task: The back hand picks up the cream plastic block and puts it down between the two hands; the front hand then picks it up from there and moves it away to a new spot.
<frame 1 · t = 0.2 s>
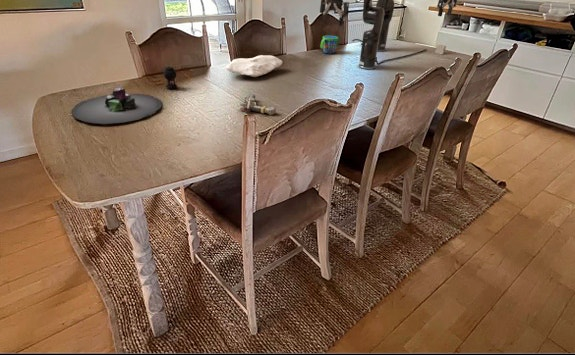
front hand: (332, 24, 172), 29 cm above the table, tool pointing down, fingers open, 8 cm apart
back hand: (444, 15, 211), 29 cm above the table, tool pointing down, fingers open, 8 cm apart
snack cup: (329, 53, 245), on the table
crumpled cloth: (252, 73, 200), on the table
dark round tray: (118, 108, 152), on the table
block: (439, 53, 256), on the table
gumball machine: (171, 88, 175), on the table
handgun: (258, 107, 159), on the table
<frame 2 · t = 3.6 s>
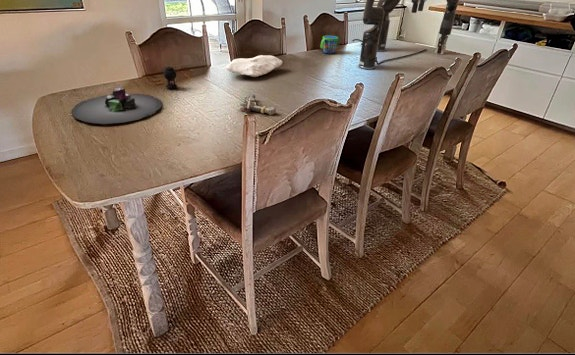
front hand: (417, 11, 171), 36 cm above the table, tool pointing down, fingers open, 8 cm apart
back hand: (439, 52, 255), 1 cm above the table, tool pointing down, fingers closed on block, 5 cm apart
block: (439, 53, 256), on the table, touching back hand
everything else where it was.
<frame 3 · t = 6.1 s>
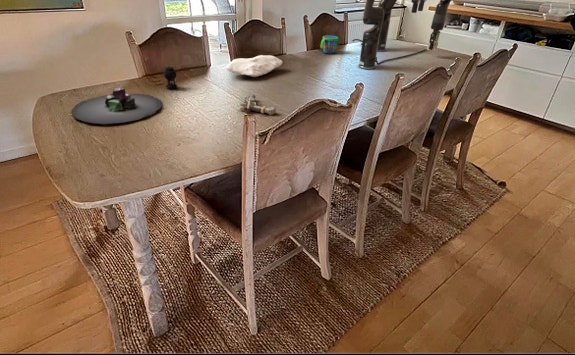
front hand: (417, 11, 171), 36 cm above the table, tool pointing down, fingers open, 8 cm apart
back hand: (431, 48, 241), 6 cm above the table, tool pointing down, fingers closed on block, 5 cm apart
block: (431, 49, 242), point 5 cm above the table, touching back hand
everything else where it was.
when the back hand's fingers open (1 cm above the table, at t = 8.6 s): block stays where it is, on the table.
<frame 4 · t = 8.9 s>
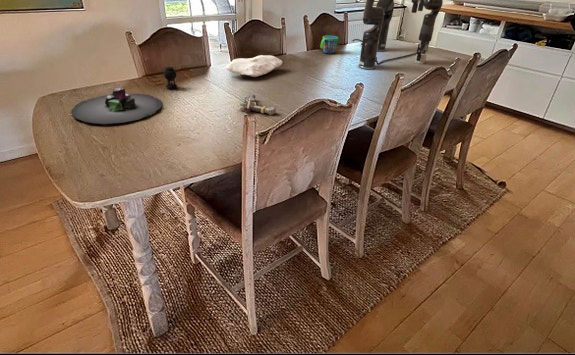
front hand: (417, 11, 171), 36 cm above the table, tool pointing down, fingers open, 8 cm apart
back hand: (420, 59, 232), 2 cm above the table, tool pointing down, fingers open, 8 cm apart
block: (419, 62, 233), on the table
everything else where it was.
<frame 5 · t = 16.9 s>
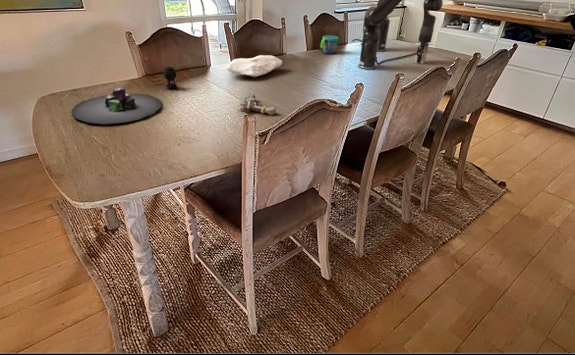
front hand: (419, 61, 232), 1 cm above the table, tool pointing down, fingers closed on block, 5 cm apart
block: (419, 62, 233), on the table, touching front hand
everything else where it was.
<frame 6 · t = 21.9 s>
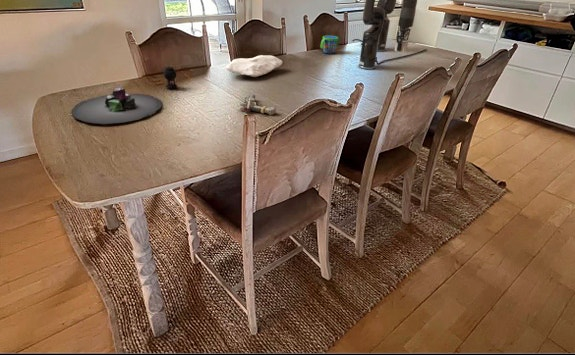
front hand: (400, 49, 200), 14 cm above the table, tool pointing down, fingers closed on block, 5 cm apart
block: (400, 50, 200), point 13 cm above the table, touching front hand
everything else where it was.
when the front hand's fingers open (1 cm above the table, at t = 26.8 s): block stays where it is, on the table.
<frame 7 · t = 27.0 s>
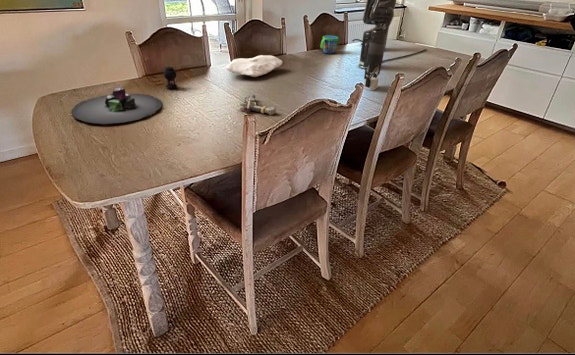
front hand: (370, 85, 185), 2 cm above the table, tool pointing down, fingers open, 6 cm apart
block: (370, 88, 186), on the table
everything else where it was.
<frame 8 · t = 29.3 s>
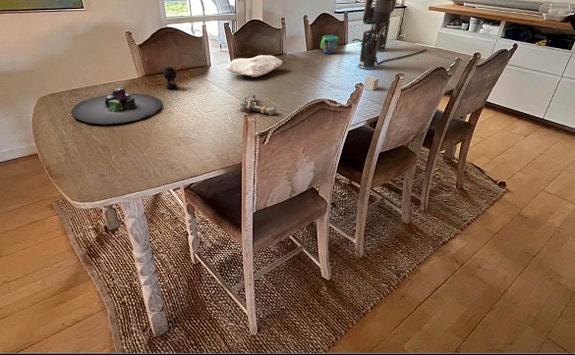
front hand: (376, 46, 175), 20 cm above the table, tool pointing down, fingers open, 8 cm apart
nothing on the table moved.
at the end: block inside the target area (0.2 cm from its centre), on the table; block tilted 0°; the two hands never held the block at the same time; the front hand is holding nothing; the back hand is holding nothing; block at rest at the end (0.0 cm/s) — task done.
